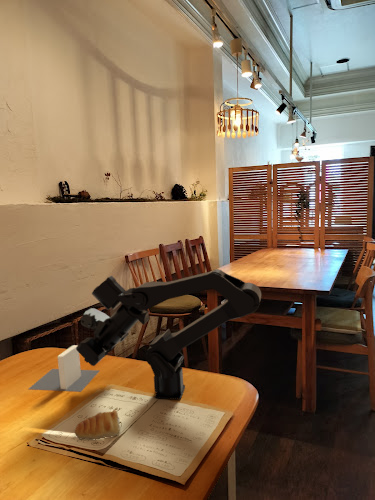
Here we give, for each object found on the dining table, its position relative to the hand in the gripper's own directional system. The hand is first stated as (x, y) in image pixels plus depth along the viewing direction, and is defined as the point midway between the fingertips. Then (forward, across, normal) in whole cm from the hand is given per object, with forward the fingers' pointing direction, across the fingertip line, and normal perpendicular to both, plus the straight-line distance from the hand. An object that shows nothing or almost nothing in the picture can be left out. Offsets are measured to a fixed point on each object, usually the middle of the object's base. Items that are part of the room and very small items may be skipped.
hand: (86, 360), depth 98 cm
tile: (+8, 0, +1) cm, 8 cm away
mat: (+10, -1, 0) cm, 11 cm away
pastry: (-4, +18, +15) cm, 23 cm away
